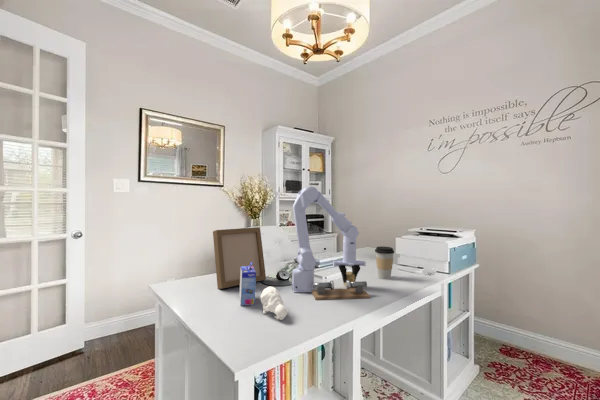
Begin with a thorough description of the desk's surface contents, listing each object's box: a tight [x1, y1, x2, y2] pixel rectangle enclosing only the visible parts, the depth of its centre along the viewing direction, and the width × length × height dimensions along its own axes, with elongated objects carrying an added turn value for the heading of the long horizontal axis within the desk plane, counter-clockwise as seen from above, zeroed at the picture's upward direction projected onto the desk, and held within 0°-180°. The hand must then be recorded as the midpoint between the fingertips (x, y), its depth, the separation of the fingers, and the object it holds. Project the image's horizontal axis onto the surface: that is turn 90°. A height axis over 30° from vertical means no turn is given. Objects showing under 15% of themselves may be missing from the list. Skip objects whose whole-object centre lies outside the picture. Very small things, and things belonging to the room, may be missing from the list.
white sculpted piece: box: [259, 286, 288, 321], centre depth 92 cm, size 6×8×12 cm
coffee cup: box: [374, 245, 395, 280], centre depth 138 cm, size 9×9×15 cm
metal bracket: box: [268, 264, 297, 282], centre depth 137 cm, size 14×6×15 cm
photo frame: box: [212, 226, 267, 289], centre depth 128 cm, size 15×22×25 cm
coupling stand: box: [311, 280, 371, 301], centre depth 112 cm, size 22×9×6 cm, turn 97°
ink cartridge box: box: [238, 262, 257, 307], centre depth 104 cm, size 10×6×14 cm, turn 15°
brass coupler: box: [342, 271, 356, 287], centre depth 123 cm, size 5×4×6 cm
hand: (348, 282), depth 123 cm, fingers closed on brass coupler, 4 cm apart
